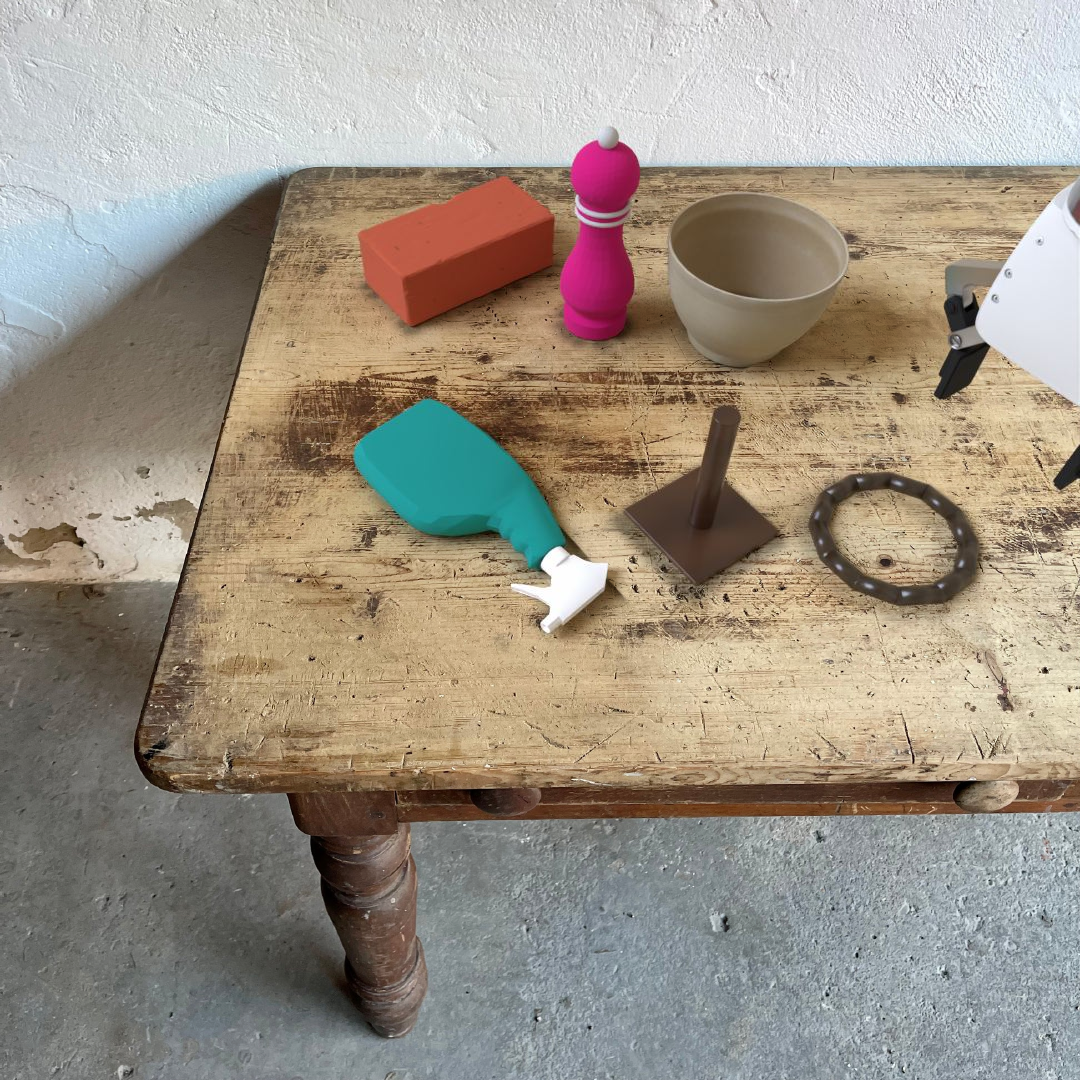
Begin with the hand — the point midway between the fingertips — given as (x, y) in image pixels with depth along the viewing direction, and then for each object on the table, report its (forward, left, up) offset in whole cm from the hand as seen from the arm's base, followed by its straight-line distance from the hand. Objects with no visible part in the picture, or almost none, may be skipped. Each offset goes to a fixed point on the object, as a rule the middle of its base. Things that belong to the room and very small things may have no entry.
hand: (1008, 432), depth 60 cm
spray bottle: (+24, +27, -15) cm, 39 cm away
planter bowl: (+29, -6, -15) cm, 34 cm away
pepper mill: (+39, +4, -15) cm, 42 cm away
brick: (+53, +11, -15) cm, 56 cm away
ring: (+3, +1, -14) cm, 15 cm away
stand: (+13, +13, -15) cm, 24 cm away
